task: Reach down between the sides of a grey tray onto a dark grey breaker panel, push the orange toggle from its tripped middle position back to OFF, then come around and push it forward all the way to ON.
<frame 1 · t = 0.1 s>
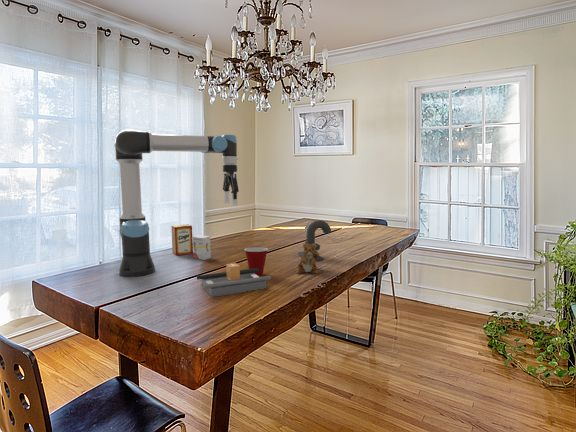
hand: (230, 204, 204), 28 cm above the table, tool pointing down, fingers open, 13 cm apart
stuffed squirrel: (308, 271, 177), on the table
breaker panel: (233, 286, 153), on the table
grey tray: (233, 277, 152), on the breaker panel, point 3 cm above the table
orange cardboard box: (182, 253, 212), on the table
faucet: (317, 257, 203), on the table
plastic cup: (256, 274, 171), on the table
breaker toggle: (233, 271, 152), point 6 cm above the table, slide at 0.0 cm
ink box: (201, 258, 201), on the table
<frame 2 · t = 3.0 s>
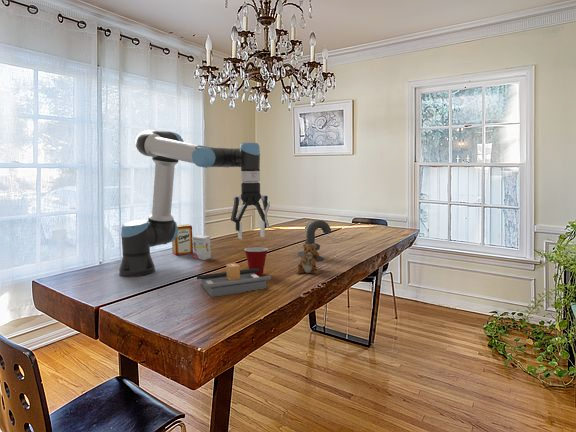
hand: (251, 237, 154), 19 cm above the table, tool pointing down, fingers open, 9 cm apart
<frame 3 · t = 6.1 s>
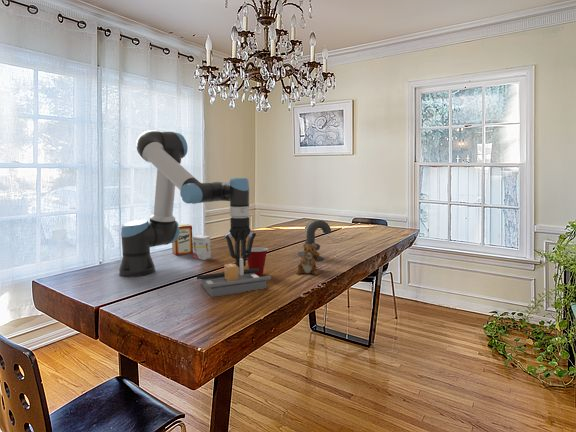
hand: (240, 274, 154), 5 cm above the table, tool pointing down, fingers closed
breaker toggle: (231, 271, 152), point 6 cm above the table, slide at -0.8 cm, touching gripper
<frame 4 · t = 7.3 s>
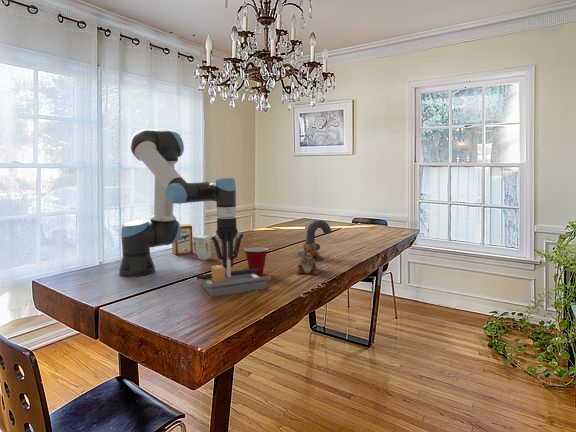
hand: (228, 275, 151), 5 cm above the table, tool pointing down, fingers closed
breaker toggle: (218, 273, 149), point 6 cm above the table, slide at -6.1 cm, touching gripper
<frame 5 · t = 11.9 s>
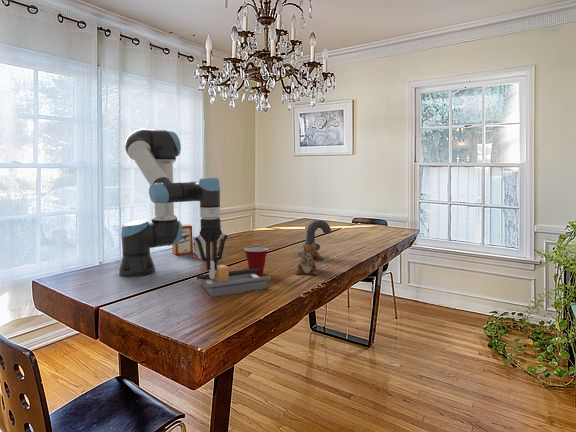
hand: (212, 277, 148), 5 cm above the table, tool pointing down, fingers closed
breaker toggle: (221, 273, 150), point 6 cm above the table, slide at -4.7 cm, touching gripper
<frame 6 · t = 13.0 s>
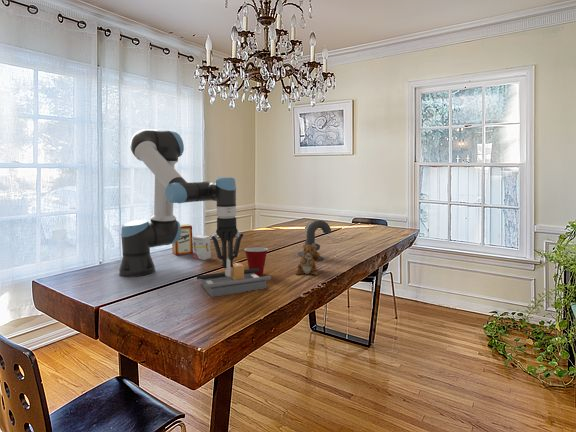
hand: (227, 275, 151), 5 cm above the table, tool pointing down, fingers closed
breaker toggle: (237, 271, 153), point 6 cm above the table, slide at 1.7 cm, touching gripper
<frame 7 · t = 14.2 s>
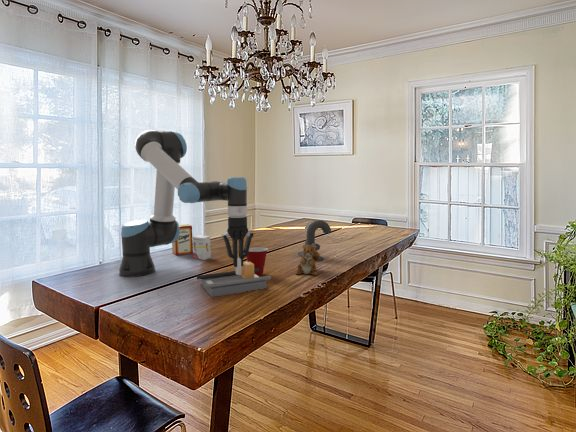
hand: (238, 274, 153), 5 cm above the table, tool pointing down, fingers closed
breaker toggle: (247, 269, 155), point 6 cm above the table, slide at 6.1 cm, touching gripper
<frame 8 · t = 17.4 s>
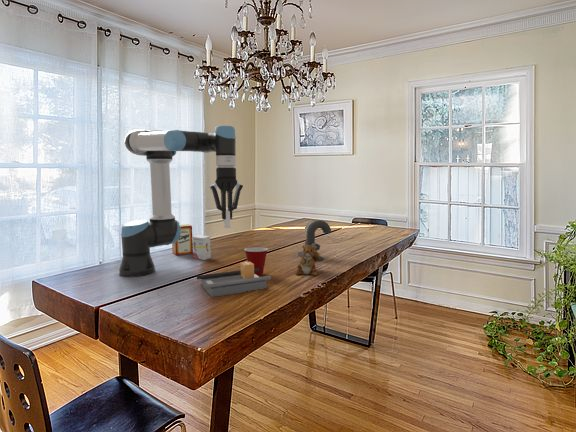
hand: (227, 227, 149), 24 cm above the table, tool pointing down, fingers closed
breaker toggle: (247, 269, 155), point 6 cm above the table, slide at 6.0 cm
at the end: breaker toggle slide at 6.0 cm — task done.
